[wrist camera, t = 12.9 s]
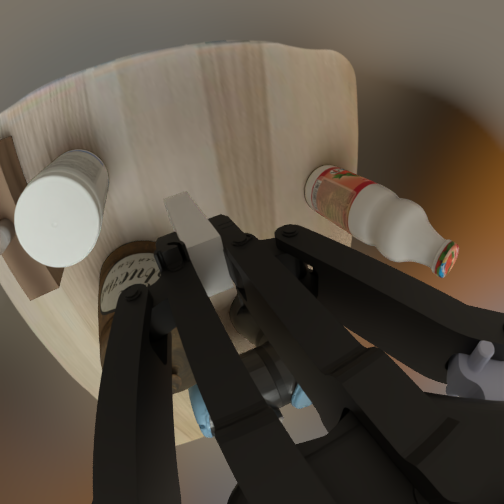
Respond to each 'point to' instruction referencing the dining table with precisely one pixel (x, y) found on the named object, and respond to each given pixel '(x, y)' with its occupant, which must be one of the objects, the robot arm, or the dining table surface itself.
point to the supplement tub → (63, 209)
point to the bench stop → (4, 235)
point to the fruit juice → (379, 218)
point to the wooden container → (122, 276)
